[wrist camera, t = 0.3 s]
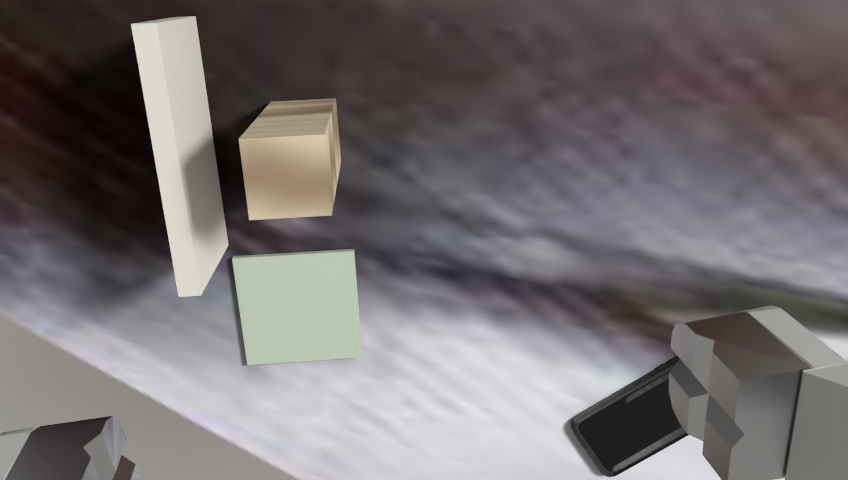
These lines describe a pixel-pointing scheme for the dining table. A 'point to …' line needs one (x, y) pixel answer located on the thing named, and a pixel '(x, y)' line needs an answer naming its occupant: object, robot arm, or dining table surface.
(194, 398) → the dining table surface
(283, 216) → the marked block
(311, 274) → the pad
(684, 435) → the phone
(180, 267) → the upright white panel
